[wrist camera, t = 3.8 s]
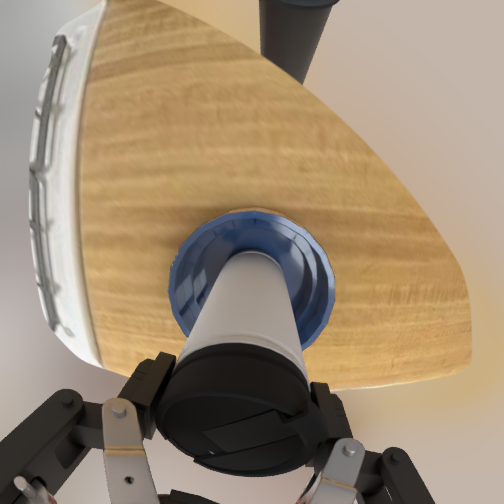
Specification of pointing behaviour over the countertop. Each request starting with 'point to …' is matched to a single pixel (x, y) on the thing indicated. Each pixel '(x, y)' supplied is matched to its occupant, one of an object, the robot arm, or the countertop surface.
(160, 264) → the countertop surface
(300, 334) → the bowl
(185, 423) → the travel mug
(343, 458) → the robot arm
